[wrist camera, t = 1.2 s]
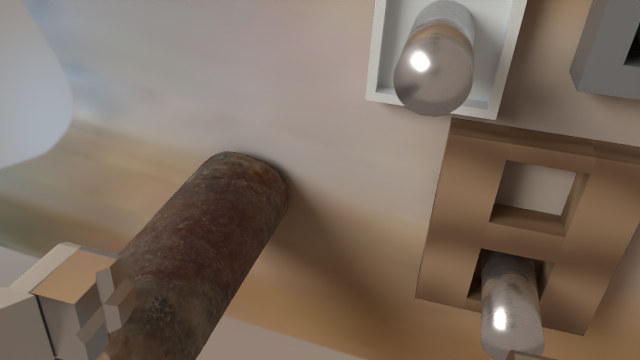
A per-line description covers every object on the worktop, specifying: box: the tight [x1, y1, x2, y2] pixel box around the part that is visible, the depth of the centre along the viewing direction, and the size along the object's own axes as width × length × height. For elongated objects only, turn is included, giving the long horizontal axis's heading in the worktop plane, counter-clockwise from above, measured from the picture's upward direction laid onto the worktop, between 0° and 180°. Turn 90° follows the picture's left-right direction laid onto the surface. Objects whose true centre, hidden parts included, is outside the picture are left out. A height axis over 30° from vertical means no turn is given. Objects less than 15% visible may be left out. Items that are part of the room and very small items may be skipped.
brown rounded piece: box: [54, 152, 288, 360], centre depth 32 cm, size 8×7×20 cm
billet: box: [393, 0, 475, 116], centre depth 27 cm, size 4×4×8 cm
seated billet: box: [481, 249, 544, 360], centre depth 35 cm, size 4×4×8 cm
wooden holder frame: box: [415, 118, 640, 336], centre depth 35 cm, size 14×12×2 cm
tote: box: [365, 0, 527, 120], centre depth 30 cm, size 9×8×2 cm
